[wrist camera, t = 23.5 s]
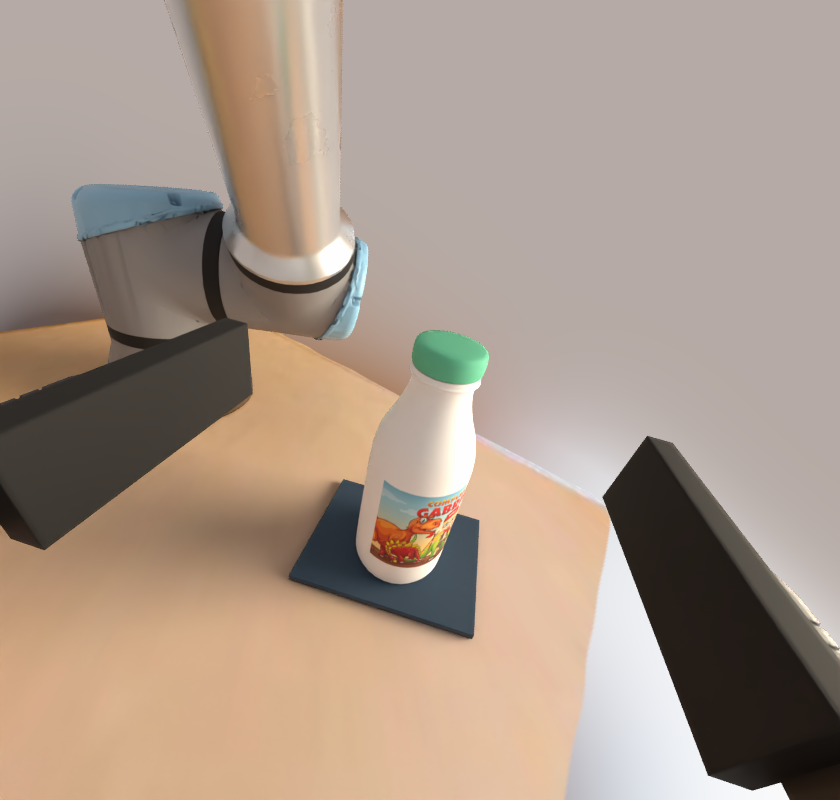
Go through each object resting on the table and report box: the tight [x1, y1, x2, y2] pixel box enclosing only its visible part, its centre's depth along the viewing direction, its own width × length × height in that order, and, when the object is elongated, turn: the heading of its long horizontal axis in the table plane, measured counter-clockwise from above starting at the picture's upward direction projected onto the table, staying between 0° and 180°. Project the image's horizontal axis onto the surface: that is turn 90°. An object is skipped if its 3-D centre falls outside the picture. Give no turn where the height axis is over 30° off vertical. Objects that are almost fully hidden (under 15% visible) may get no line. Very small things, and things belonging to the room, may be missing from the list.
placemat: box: [289, 479, 479, 639], centre depth 30 cm, size 15×11×1 cm
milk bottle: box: [356, 330, 489, 584], centre depth 25 cm, size 8×8×20 cm
